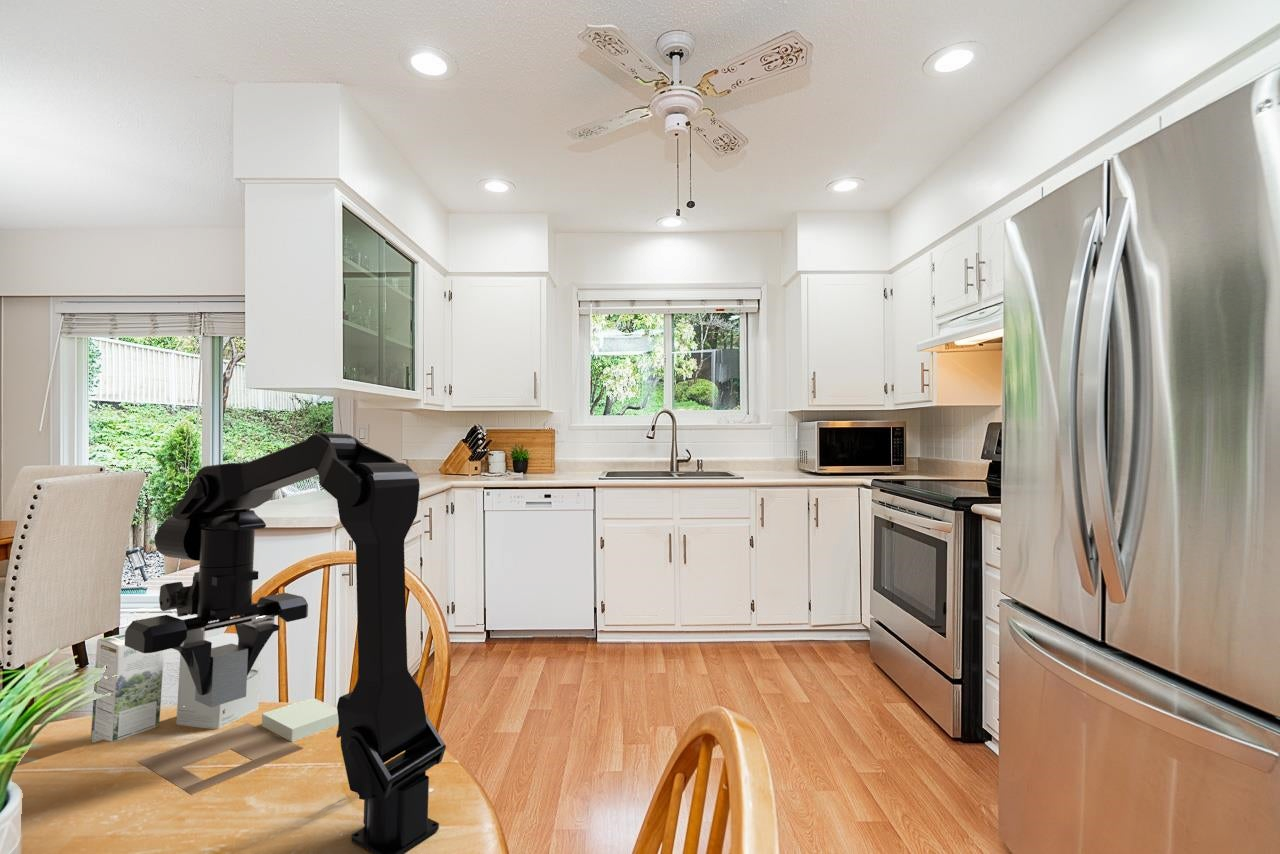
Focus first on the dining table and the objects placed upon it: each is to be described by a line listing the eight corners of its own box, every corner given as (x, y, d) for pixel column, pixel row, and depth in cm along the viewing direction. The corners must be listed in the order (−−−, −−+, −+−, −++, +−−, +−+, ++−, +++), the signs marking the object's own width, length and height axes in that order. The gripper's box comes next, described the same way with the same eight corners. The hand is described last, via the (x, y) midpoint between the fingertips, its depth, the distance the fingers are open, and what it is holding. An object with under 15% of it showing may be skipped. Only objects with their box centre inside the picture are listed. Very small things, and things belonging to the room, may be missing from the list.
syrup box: (138, 727, 89) (143, 627, 90) (160, 736, 87) (165, 633, 87) (89, 744, 84) (95, 637, 85) (111, 753, 81) (117, 644, 82)
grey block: (246, 696, 77) (248, 648, 78) (211, 707, 74) (213, 657, 74) (229, 689, 80) (231, 643, 80) (195, 700, 76) (197, 651, 76)
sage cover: (342, 735, 88) (343, 711, 88) (291, 755, 82) (292, 729, 83) (311, 720, 93) (312, 697, 93) (261, 738, 87) (262, 713, 87)
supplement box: (217, 740, 86) (221, 649, 86) (173, 735, 87) (178, 645, 88) (259, 718, 93) (263, 634, 93) (219, 713, 94) (222, 631, 95)
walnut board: (302, 759, 81) (303, 747, 81) (190, 807, 70) (191, 794, 70) (247, 733, 88) (247, 723, 88) (137, 773, 77) (137, 761, 77)
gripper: (268, 549, 90) (263, 656, 89) (108, 568, 74) (101, 699, 73) (312, 556, 84) (307, 671, 83) (149, 579, 68) (142, 721, 67)
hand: (221, 688), depth 77 cm, fingers closed on grey block, 4 cm apart
